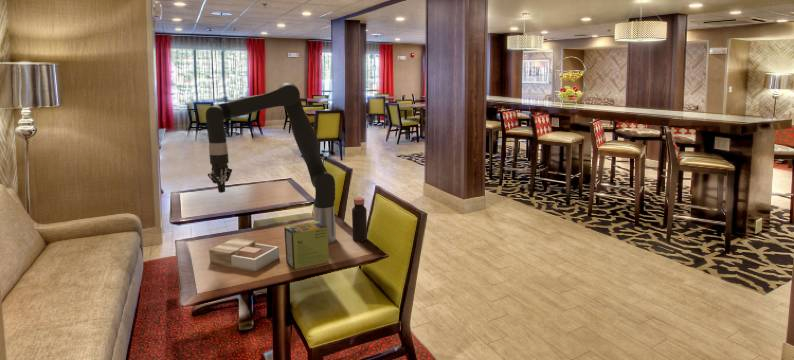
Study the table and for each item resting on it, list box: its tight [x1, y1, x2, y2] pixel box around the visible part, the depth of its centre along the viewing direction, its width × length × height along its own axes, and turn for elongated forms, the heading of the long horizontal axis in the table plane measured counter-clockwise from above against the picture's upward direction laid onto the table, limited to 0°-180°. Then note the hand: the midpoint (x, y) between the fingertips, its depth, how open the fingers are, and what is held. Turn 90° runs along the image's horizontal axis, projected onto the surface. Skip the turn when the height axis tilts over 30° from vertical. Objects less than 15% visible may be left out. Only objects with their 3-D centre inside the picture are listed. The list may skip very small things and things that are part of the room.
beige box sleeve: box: [208, 237, 256, 268], centre depth 215 cm, size 16×11×6 cm
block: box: [238, 247, 262, 259], centre depth 210 cm, size 5×5×8 cm
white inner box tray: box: [231, 242, 280, 272], centre depth 211 cm, size 16×12×5 cm
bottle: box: [351, 196, 368, 242], centre depth 236 cm, size 7×7×20 cm
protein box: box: [283, 220, 330, 270], centre depth 210 cm, size 10×15×16 cm
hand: (221, 192), depth 218 cm, fingers closed
